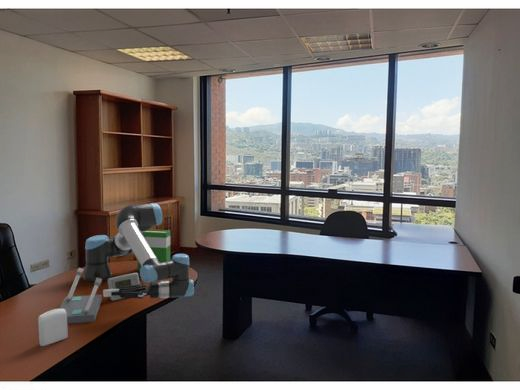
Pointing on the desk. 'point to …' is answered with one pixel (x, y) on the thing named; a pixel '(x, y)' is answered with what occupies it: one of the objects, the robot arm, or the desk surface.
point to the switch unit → (81, 308)
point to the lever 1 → (74, 283)
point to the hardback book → (158, 244)
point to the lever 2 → (92, 294)
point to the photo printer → (52, 326)
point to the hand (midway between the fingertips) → (103, 293)
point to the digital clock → (122, 283)
